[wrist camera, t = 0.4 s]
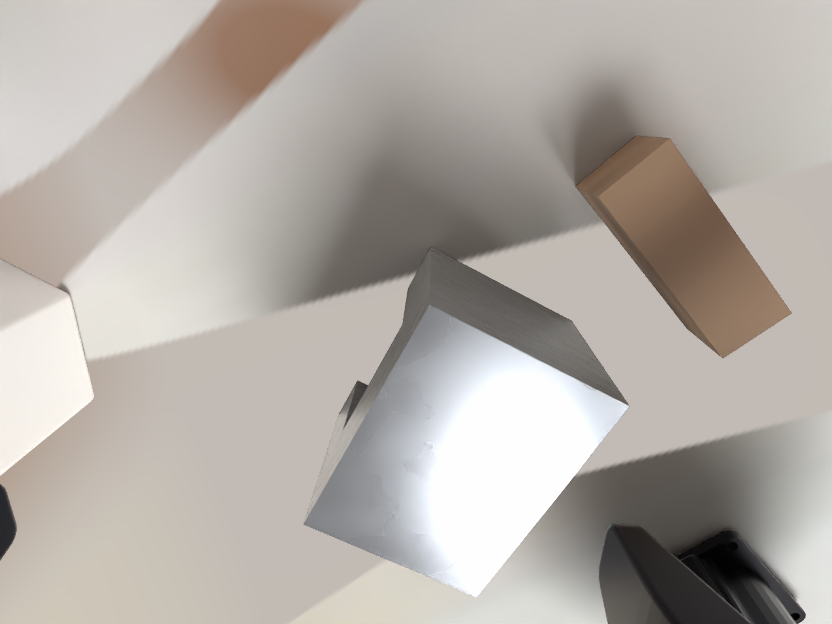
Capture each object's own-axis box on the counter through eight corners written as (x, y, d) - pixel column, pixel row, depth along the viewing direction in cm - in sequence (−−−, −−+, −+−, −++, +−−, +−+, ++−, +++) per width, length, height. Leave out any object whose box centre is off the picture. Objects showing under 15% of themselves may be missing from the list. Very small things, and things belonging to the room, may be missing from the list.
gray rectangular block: (571, 320, 19) (629, 406, 13) (465, 472, 21) (476, 596, 16) (431, 246, 18) (429, 305, 12) (338, 414, 21) (303, 524, 15)
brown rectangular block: (745, 287, 18) (791, 313, 16) (686, 328, 19) (722, 358, 16) (636, 135, 16) (669, 138, 14) (575, 185, 17) (598, 196, 15)
